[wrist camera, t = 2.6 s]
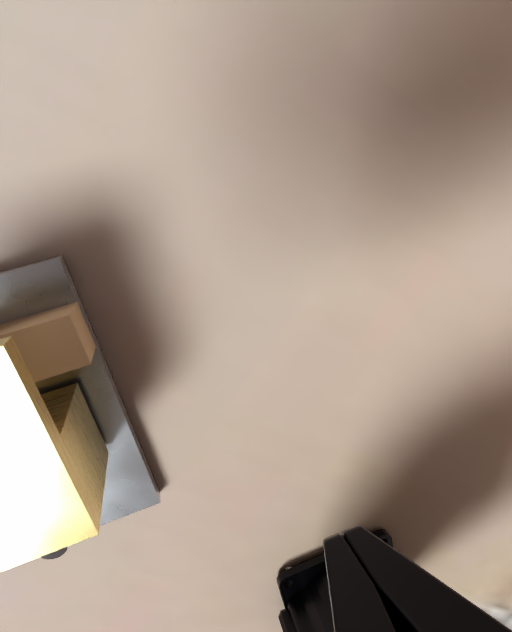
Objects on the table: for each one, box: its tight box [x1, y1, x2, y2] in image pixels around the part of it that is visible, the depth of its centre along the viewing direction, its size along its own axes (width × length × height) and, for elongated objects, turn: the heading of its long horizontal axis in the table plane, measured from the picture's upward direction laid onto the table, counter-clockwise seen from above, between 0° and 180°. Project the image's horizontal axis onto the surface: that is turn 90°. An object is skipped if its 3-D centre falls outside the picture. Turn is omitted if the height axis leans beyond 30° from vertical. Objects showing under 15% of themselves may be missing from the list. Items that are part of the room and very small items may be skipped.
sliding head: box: [0, 336, 109, 572], centre depth 13 cm, size 4×8×4 cm, turn 13°
